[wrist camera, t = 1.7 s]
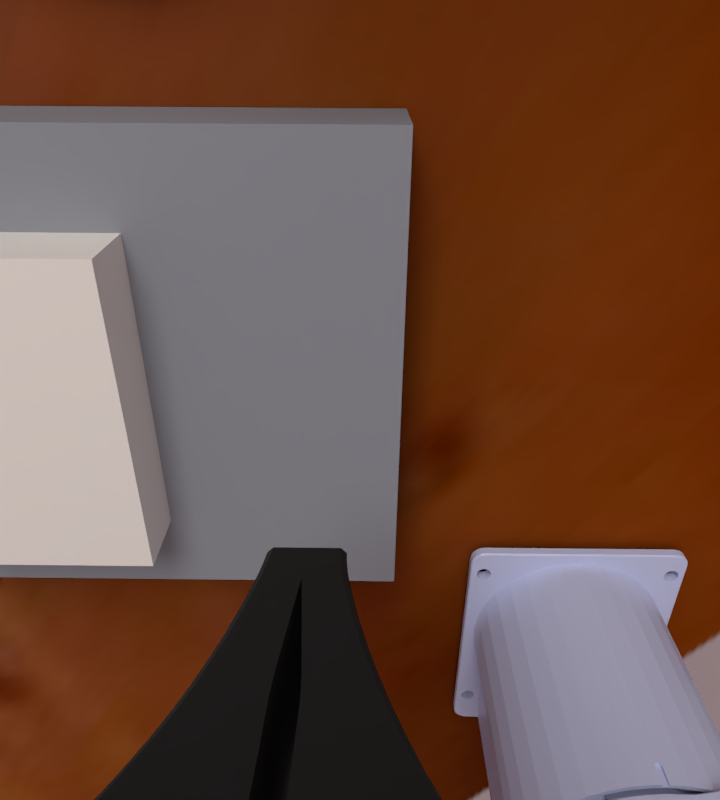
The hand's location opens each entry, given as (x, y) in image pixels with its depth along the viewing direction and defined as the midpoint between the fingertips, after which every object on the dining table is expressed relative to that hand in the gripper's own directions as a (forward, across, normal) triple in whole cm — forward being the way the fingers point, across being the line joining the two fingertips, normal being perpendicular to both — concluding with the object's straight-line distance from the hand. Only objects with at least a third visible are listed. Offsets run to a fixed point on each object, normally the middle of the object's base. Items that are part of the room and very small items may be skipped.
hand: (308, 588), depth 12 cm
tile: (+7, +8, 0) cm, 11 cm away
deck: (+10, +6, 0) cm, 12 cm away
